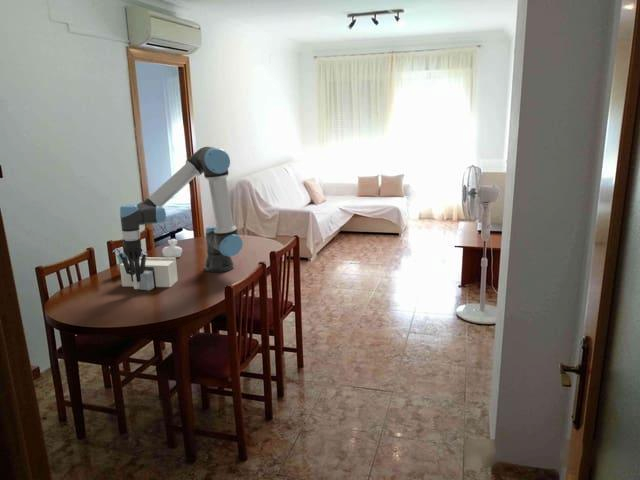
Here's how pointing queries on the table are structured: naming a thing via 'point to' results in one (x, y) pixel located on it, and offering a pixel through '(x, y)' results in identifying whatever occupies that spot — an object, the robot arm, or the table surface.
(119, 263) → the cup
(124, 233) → the robot arm
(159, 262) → the console
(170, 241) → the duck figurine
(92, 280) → the table surface
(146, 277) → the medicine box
